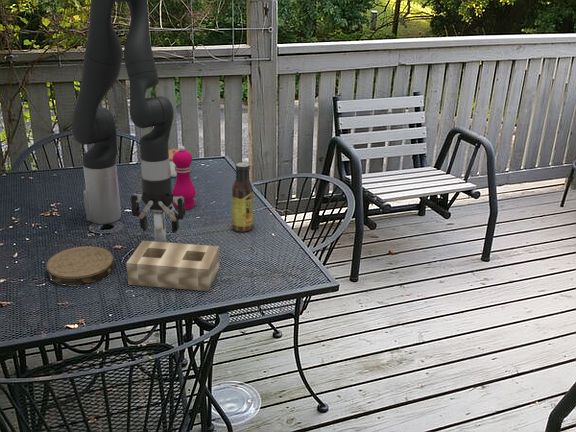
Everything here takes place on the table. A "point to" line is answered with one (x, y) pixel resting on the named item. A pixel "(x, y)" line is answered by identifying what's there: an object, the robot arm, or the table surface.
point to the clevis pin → (159, 225)
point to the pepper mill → (183, 177)
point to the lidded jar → (172, 165)
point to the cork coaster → (80, 265)
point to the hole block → (173, 265)
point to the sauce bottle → (242, 199)
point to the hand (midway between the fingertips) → (160, 230)
